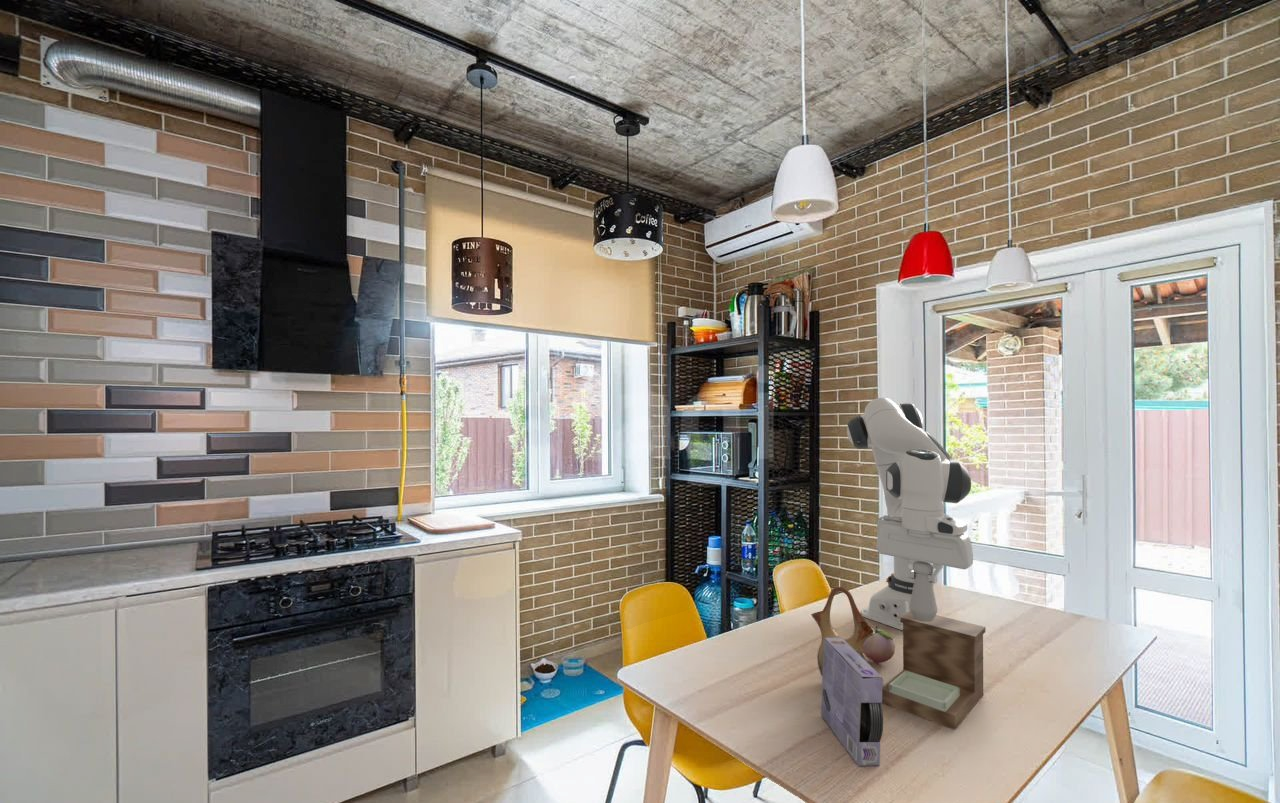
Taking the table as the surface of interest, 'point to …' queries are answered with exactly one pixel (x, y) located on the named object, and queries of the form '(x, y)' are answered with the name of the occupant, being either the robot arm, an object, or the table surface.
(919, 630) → the wooden stand
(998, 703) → the table surface
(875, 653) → the decorative fruit
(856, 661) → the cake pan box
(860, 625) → the ceramic vessel
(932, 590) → the salt shaker
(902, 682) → the tray
